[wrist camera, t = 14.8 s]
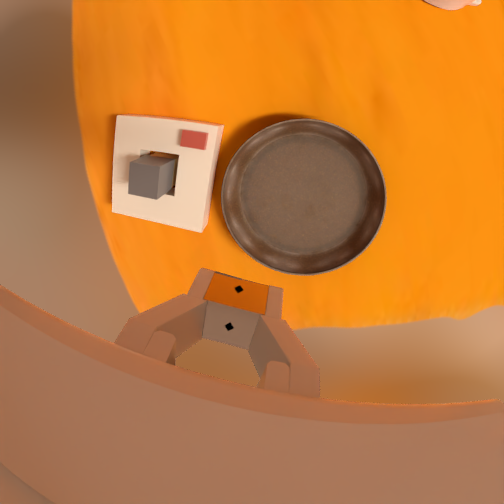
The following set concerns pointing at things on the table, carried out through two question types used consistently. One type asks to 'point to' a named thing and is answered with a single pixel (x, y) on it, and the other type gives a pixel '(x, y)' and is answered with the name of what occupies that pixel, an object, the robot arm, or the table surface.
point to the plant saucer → (303, 197)
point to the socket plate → (188, 172)
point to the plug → (152, 175)
